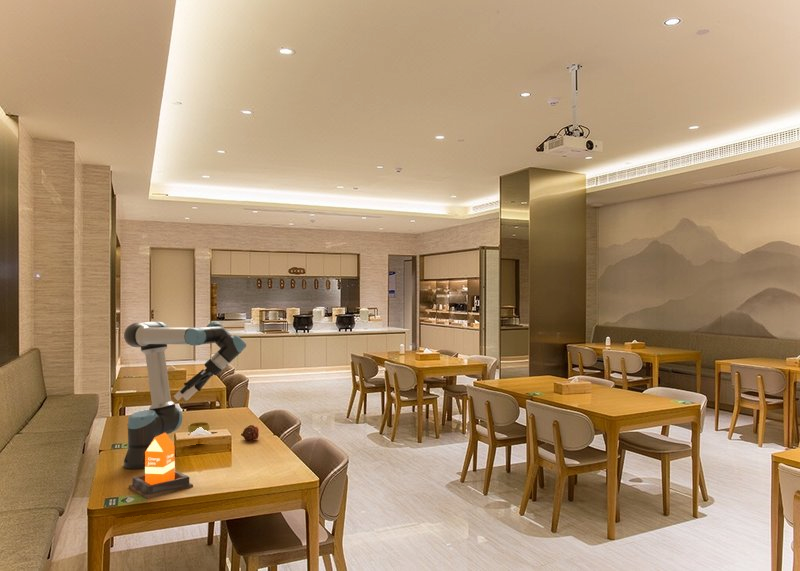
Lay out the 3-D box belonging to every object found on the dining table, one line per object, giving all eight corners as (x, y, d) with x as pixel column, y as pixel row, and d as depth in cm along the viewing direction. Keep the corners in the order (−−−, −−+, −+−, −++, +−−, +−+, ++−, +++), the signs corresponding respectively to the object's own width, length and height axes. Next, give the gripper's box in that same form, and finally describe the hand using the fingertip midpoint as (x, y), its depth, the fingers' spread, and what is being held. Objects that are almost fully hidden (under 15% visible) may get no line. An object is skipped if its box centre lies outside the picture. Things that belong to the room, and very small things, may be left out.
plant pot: (202, 446, 291) (202, 426, 291) (184, 445, 293) (184, 425, 293) (213, 440, 301) (213, 422, 301) (195, 440, 303) (195, 421, 303)
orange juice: (144, 488, 224) (144, 437, 224) (156, 481, 232) (156, 432, 233) (163, 489, 223) (163, 437, 223) (175, 482, 231) (175, 432, 232)
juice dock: (128, 487, 228) (128, 477, 228) (173, 477, 241) (173, 467, 241) (147, 498, 215) (147, 488, 216) (192, 486, 228) (192, 476, 228)
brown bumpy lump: (252, 446, 296) (247, 444, 306) (265, 434, 300) (259, 433, 310) (241, 433, 294) (237, 432, 305) (254, 422, 298) (249, 421, 309)
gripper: (216, 368, 245) (178, 404, 241) (227, 371, 269) (193, 404, 265) (204, 355, 246) (165, 392, 241) (216, 360, 270) (182, 393, 265)
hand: (180, 398), depth 253 cm, fingers open, 13 cm apart
